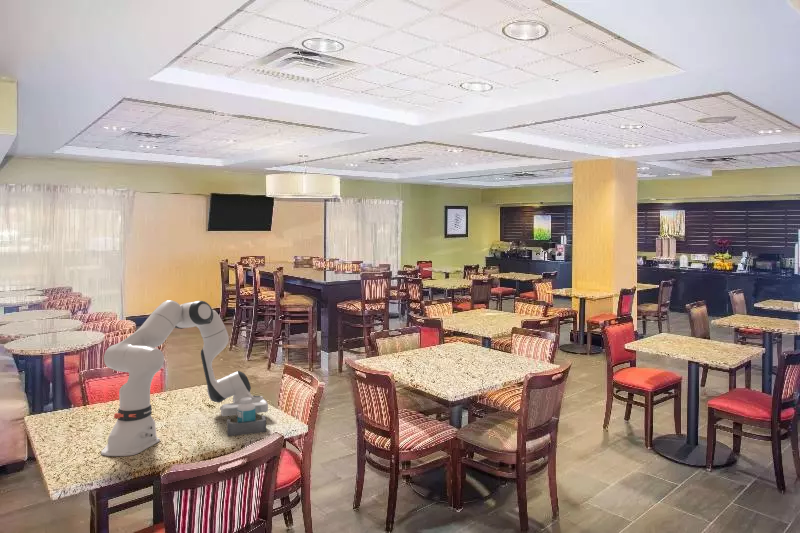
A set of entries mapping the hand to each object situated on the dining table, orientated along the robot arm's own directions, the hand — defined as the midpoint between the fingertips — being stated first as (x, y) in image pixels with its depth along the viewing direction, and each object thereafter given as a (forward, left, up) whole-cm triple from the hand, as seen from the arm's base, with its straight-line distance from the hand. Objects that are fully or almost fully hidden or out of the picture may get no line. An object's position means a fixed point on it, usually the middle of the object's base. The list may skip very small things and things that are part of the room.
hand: (245, 413), depth 243 cm
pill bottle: (-6, -2, -5) cm, 8 cm away
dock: (-7, -2, -5) cm, 9 cm away
